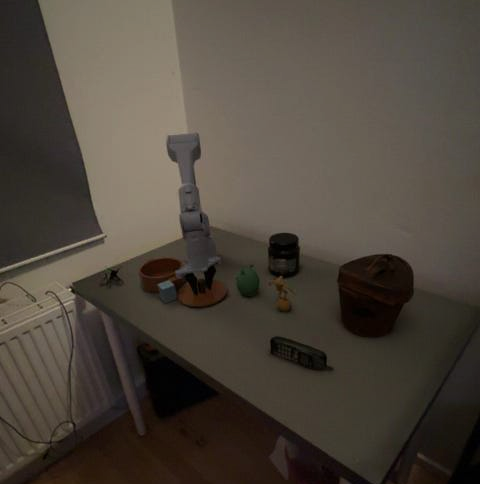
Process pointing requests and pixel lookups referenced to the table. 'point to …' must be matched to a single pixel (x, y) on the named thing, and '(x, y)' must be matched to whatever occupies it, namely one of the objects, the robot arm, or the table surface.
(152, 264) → the pot
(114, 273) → the creature
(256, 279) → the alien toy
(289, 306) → the figurine
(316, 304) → the table surface
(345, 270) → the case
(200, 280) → the lid
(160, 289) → the block
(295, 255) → the supplement container
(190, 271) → the robot arm
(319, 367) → the mobile phone
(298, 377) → the table surface
